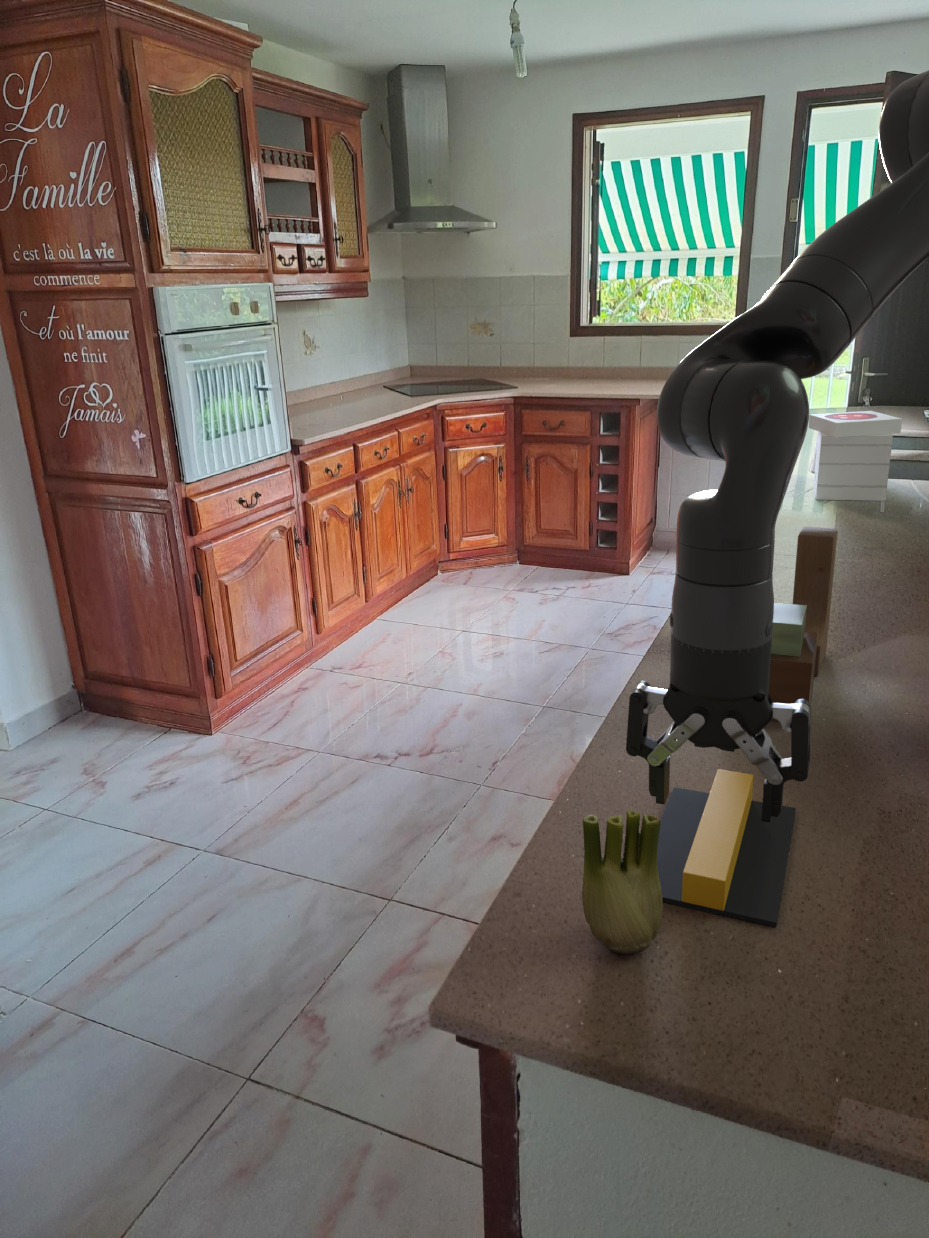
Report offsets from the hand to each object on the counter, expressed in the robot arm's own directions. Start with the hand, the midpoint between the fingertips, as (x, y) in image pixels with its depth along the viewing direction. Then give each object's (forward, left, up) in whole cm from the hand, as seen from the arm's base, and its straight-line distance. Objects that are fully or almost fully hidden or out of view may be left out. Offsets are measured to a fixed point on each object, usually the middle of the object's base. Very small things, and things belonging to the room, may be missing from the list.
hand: (713, 807), depth 73 cm
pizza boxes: (-61, -154, -9) cm, 166 cm away
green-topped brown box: (-14, -37, -9) cm, 41 cm away
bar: (-2, -6, -8) cm, 10 cm away
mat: (-2, -6, -9) cm, 11 cm away
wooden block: (-22, -49, -9) cm, 55 cm away
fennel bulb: (+8, +6, -9) cm, 13 cm away
